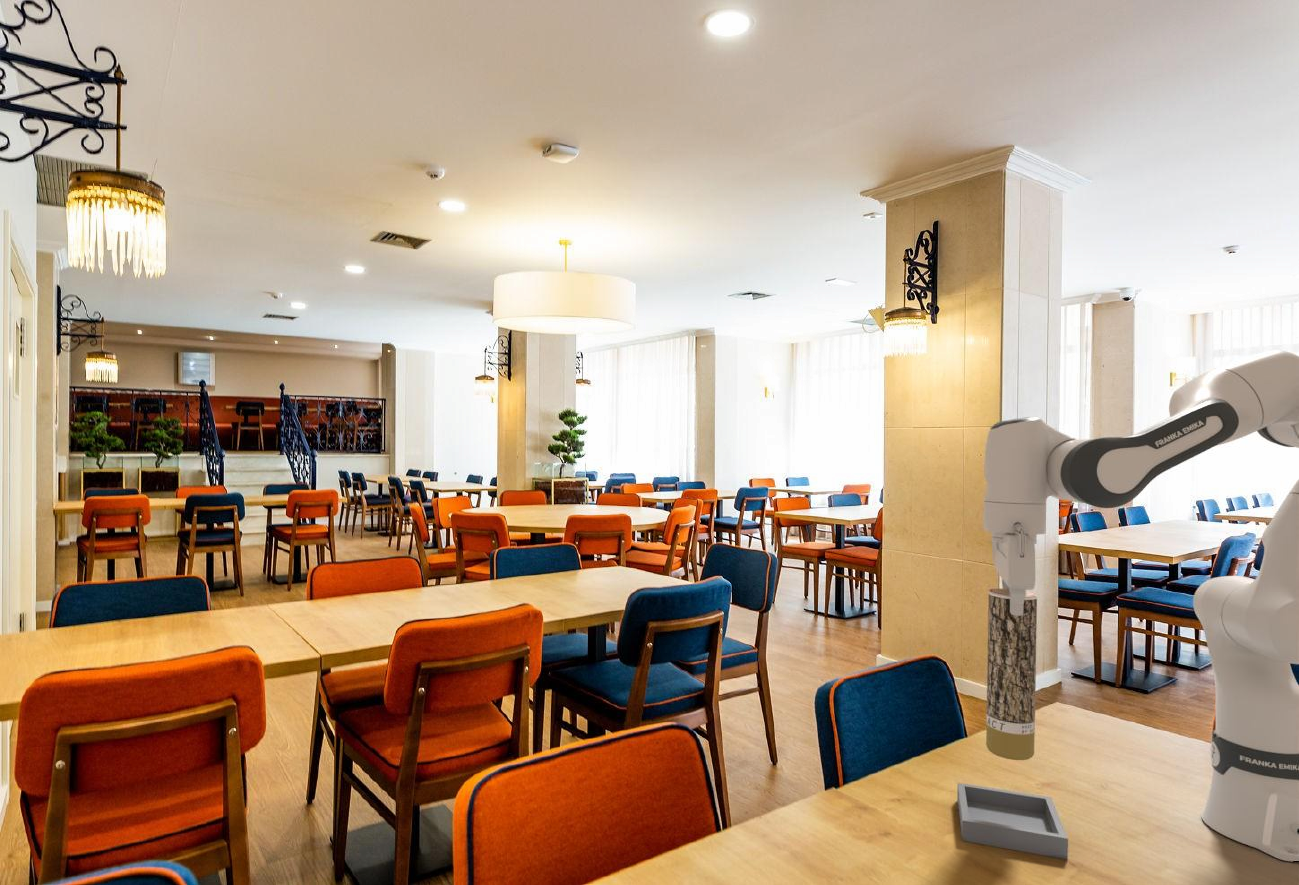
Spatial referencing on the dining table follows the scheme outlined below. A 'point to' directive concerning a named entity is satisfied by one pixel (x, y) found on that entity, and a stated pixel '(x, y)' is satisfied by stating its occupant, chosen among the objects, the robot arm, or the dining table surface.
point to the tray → (1011, 820)
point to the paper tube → (1011, 677)
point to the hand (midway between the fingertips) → (1012, 609)
